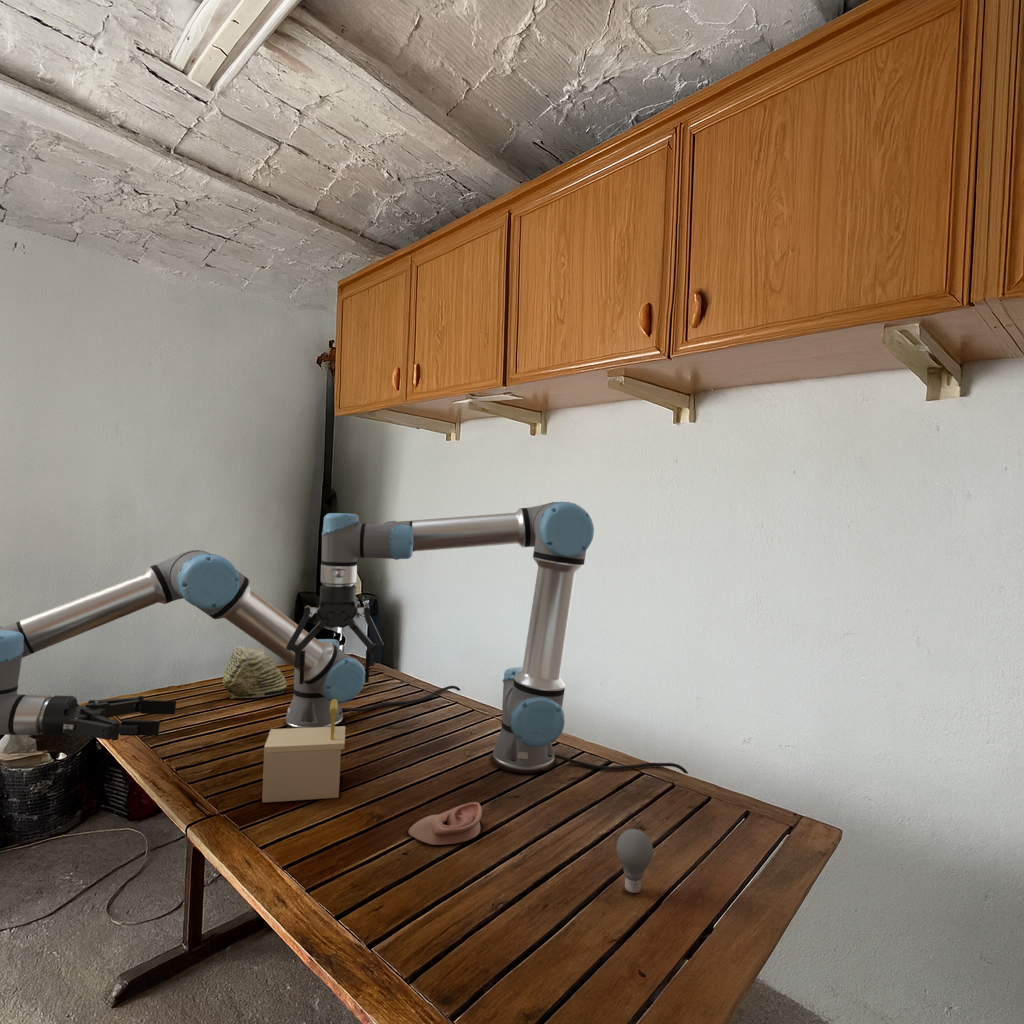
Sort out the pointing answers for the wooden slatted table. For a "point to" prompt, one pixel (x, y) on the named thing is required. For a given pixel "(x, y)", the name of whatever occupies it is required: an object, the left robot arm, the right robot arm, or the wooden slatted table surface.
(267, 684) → the fossil
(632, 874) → the light bulb
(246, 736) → the wooden slatted table surface
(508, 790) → the wooden slatted table surface
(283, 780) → the chest
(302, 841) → the wooden slatted table surface
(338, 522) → the right robot arm
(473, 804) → the anatomical model
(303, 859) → the wooden slatted table surface
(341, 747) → the lid
